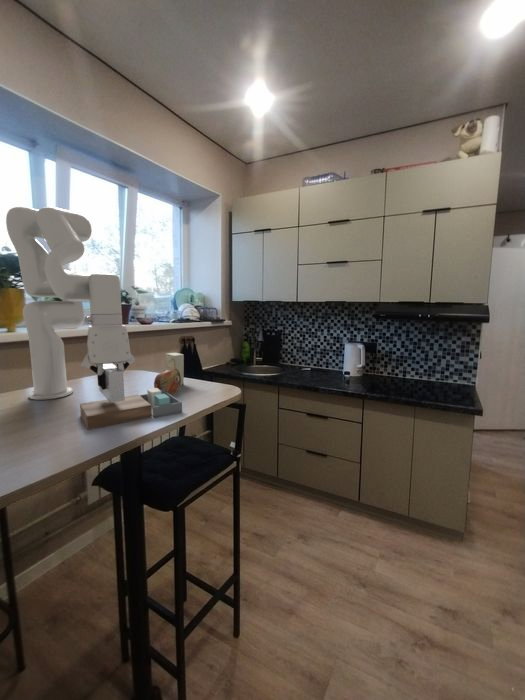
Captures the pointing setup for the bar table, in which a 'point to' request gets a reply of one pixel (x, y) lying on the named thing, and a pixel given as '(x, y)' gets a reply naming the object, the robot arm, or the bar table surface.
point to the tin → (168, 381)
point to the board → (114, 411)
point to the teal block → (161, 399)
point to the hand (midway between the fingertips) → (111, 386)
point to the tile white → (152, 395)
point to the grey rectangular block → (113, 383)
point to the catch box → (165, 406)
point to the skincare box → (176, 363)
